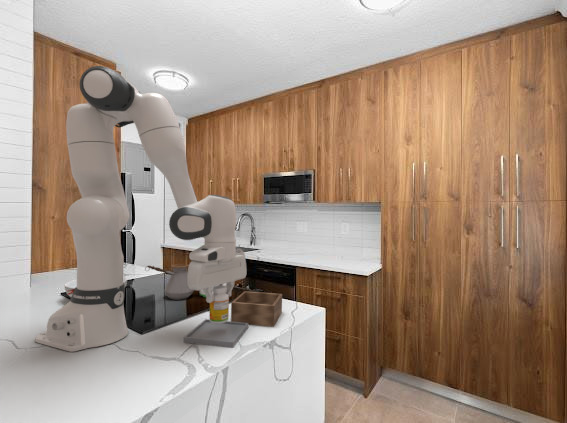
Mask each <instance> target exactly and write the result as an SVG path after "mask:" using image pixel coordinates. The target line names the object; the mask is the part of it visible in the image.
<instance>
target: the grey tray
mask: <svg viewBox="0 0 567 423" xmlns="http://www.w3.org/2000/svg"><path fill="white" fill-rule="evenodd" d="M248 329H249V325H248V323H241V322H231V320H230V321H229V320H228V321H227V322H225V323H220V324H214V323H211V322H210V318H209V319H208V318H205V319H203V321H202V322H200V323H199V324H198V325H197V326H196V327H194V328H193V329H192V330H191V331H190V332H188V333H187V334H185V335H184V336H183V343H184V344H186V343H189V344H196V345H204V346H211V347H215V346H216V347H224V348H231V349H232V348H235V346H236V344H237V343H238V342H239V341H240V339H241V338H242V337H243V335H244V334H245V332H246V331H247V330H248Z"/></svg>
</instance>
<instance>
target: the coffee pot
mask: <svg viewBox="0 0 567 423" xmlns="http://www.w3.org/2000/svg"><path fill="white" fill-rule="evenodd" d="M188 267H189V264H185V263H177V264H171V268H172V271H169V270H165V269H163V268H160V267H157V266H155V265H147V266H146V267H144V268H145V269H144V271H147V272H148V271H150V269H151V270H154V271H157V272H160V273H165V274H168V275H170V277H169V279H168V282H167V284H166V286H165V288H164V294H165V295H166V296H167V297H168V298H169V299H170V300H175V301H176V300H177V301H178V300H185V299H188V298H189V297H190V296H191V295H192V294H194V291H195V290H192V289H190V288H189V287H188V284H187V276H188ZM146 268H148V270H147V269H146Z"/></svg>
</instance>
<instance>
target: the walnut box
mask: <svg viewBox="0 0 567 423" xmlns="http://www.w3.org/2000/svg"><path fill="white" fill-rule="evenodd" d="M230 304H231V305H230V322H241V323H248V326H260V327H261V326H262V327H271V328H272V327H273V328H274V327H275V326H276V323H277V322H278V320H279V318H280V316H281V314H282V313H283V294H282V293H275V292H274V293H272V292H261V291H260V292H259V291H257V292H256V291H249V290H248V291H246V290H245V291H243V292H242V293H240V295H238V296H237V297H236V298H234V299H233V301H231V303H230Z"/></svg>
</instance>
